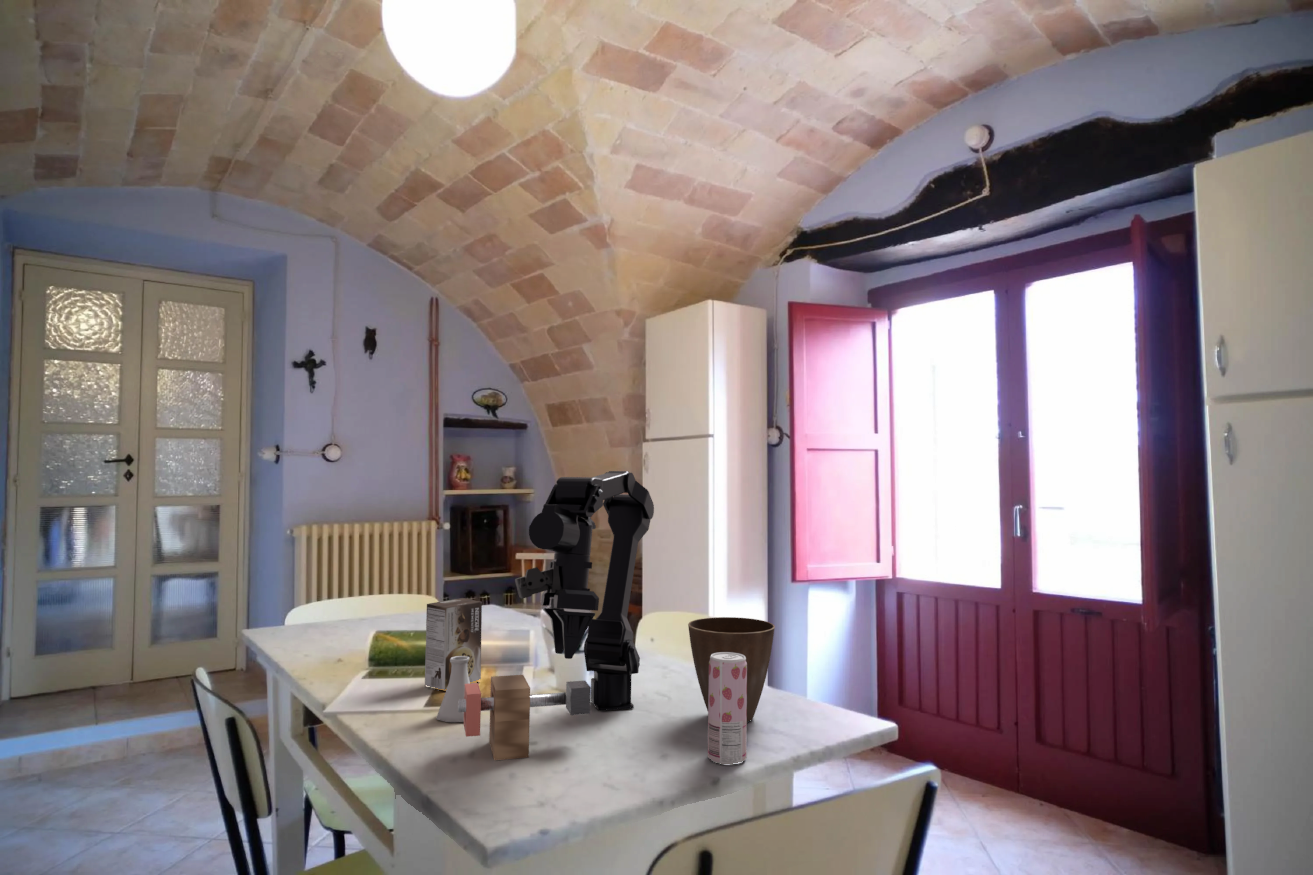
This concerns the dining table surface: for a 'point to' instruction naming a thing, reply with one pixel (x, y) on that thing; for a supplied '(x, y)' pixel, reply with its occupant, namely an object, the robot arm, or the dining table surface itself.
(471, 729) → the block
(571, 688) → the shaft
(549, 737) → the dining table surface
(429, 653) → the coffee box
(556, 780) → the dining table surface
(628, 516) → the robot arm
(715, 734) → the beverage can
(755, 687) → the plant pot
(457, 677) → the flask
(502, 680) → the block
